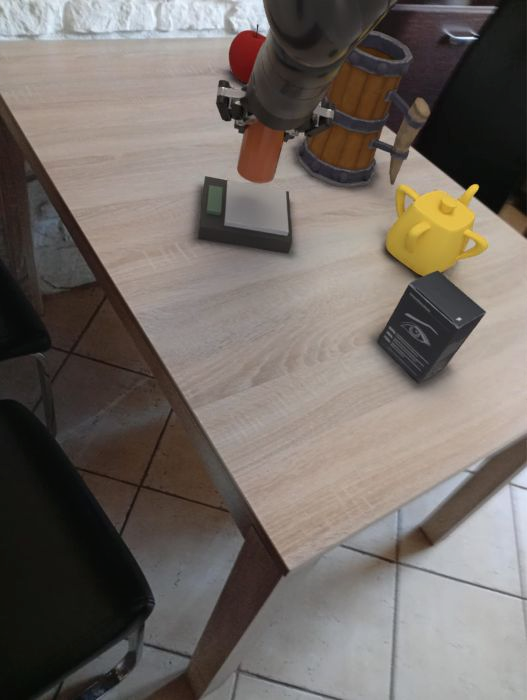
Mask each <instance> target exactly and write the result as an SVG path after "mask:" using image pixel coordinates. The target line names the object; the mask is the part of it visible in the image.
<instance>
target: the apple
mask: <svg viewBox="0 0 527 700" xmlns="http://www.w3.org/2000/svg"><path fill="white" fill-rule="evenodd" d="M259 26H260V24H258V23H257V24H256V31H255V30H252V29H246V30H245V29H244V30H242V31H240V32H238V33H237V34H236V36H235V37H234V38H233V39H232V41H231V43H230V46H229V49H228V64H229V68H230V71H231V73H232V75H233V76H234V77H235V78H237V79H238V81H241V82H242V83H244V84H245V85H246V84H248V82H249V79H250V76H251V73H252V70H253V67H254V64H255V61H256V58H257V55H258V52H259V50H260V48H261V46H262V44H263V43H264V41H265V40H266V37H267V36H265V35H263V34H261V33H259Z"/></svg>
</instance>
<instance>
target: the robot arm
mask: <svg viewBox="0 0 527 700" xmlns="http://www.w3.org/2000/svg"><path fill="white" fill-rule="evenodd" d="M399 1H400V0H262V4H263V5H262V6H263V9H264V14H265V18H266V20H267V23H268V26H269V28H268V31H267V35H266V36H265V37H266V40H265V41H264V43H263V44H262V46H261V48H260V50H259V52H258V55H257V58H256V61H255V64H254V67H253V70H252V73H251V76H250V79H249V82H248V84H246V83H245V84H244V85H242V86H241V88H239V89H238V88H235V86H233V85H231V84H230V83H231V82H229V81H228V80H226V79H220V80H218V82H217V92H216V99H215V101H216V102H215V105H216V108H217V110H218V113H219V116H220V118H221V120H222V121H224V122H232V120H234V123H233V128H234V129H235V130H237V133H238V134H242V135H243V133H244V131H245V129H246V126H247V124H249V125H252V126H254V125H256V124H258V123H260V122H261V123H262V124H263V125H265V126H267V127H268V128H271V129H274V130H278V131H285V132H286V134H285V138H284V142H283V143H288V142H289V140H294V139H295V138H296V137H298V136H300V134H301V133H302V134H303V136H304V137H308V138H311V137H314V136H316V135H318V134H320V133H322V132H324V131H325V130H327V129H329V128H331V127H332V125H333V118H334V111H335V104H334V103H331V102H327V103H325V104H323V105H320V104H321V101H322V100H323V99H324V98H325V96H326V94H327V92H328V90H329V88H330V85H331V83H332V81H333V80H334V79H335V77H336V76H337V74H338V73H339V72H340V70H341V68H342V67H343V65H344V63H345V61H346V60H347V58H348V57H349V56H350V54H351V53H352V52H353V50H354V49H355V48H356V47H357V46H358V45H359V44H360V43H361V41H362V40H363V39H364V38H365V37H366V36H367V35H368V34H369V33H370V32H371V31H372V30H373V31H374V29H375V28H376V27H377V26H378V25H379V24H380V23H381V22H382V21H383V19H384V18H385V17H387V15H388V14H389V13H390V12H391V11H392V9H393V8H394V7H396V5H397V3H398V2H399Z"/></svg>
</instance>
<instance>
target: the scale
mask: <svg viewBox="0 0 527 700" xmlns="http://www.w3.org/2000/svg"><path fill="white" fill-rule="evenodd" d="M203 180H204V181H203V187H202V198H201V208H200V218H199V225H198V226H199V227H198V235H197V239H198V240H204V241H209V242H215V243H223V244H229V245H235V246H241V247H247V248H253V249H260V250H265V251H271V252H272V251H273V252H277V253H284V254H289V253H290V250H291V247H292V244H293V235H292V234H293V232H292V217H291V204H290V191H288V190H287V189H282V188H277V187H271V186H266V185H261V184H257V183H250V182H246V181H245V182H243V181H239V180H234V179H223V178H219V177H212V176H207V175H205V176H204V179H203Z"/></svg>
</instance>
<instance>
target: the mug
mask: <svg viewBox="0 0 527 700" xmlns="http://www.w3.org/2000/svg"><path fill="white" fill-rule="evenodd" d="M413 58H414V56H413V54H412V52H411V50H410V48H409V46H407V45H406V44H404V43H402V42H401V41H400V40H398V39H397V38H395V37H392V36H390V35H388V34H385V33H383V32H380V31H377V30H374V29H373V30H372V31H371V32H370V33H369V34H368V35H367V36H366V37H365V38H364V39H363V40H362V41H361V43H360V44H359V45H358V46H357V47H356V48H355V49H354V50H353V52H352V53H351V54H350V56H349V57H348V58H347V60H346V61H345V63H344V65H343V67H342V68H341V70H340V72H339V73H338V74H337V76H336V77H335V79H334V80H333V81H332V83H331V85H330V88H329V90H328V92H327V94H326V96H325V98H324V99H323V100H322V101H321V102H320V103H319V104H320V105H323V104H325V103H327V102H331V103H334V104H335V111H334V118H333V125H332V127H331V128H329V129H327V130H325V131H324V132H322V133H320V134H318V135H316V136H314V137H311V138H308V137H306V136H304V138H303V141H302V143H301V144H300V145H299V146H298V147H297V148H296V155H297V156H296V157H297V161H298V164H299V165H301V167H302V168H303V169H304V170H305V171H306V172H307V173H308V174H309V175H310V176H311V177H314V178H315V179H317V180H320V181H322V182H324V183H326V184H329V185H331V186H338V187H342V188H343V187H344V188H350V189H352V188H356V187H361V186H366V185H368V184H369V182H370V181H371V180H372V179H373V177H374V176H375V174H376V172H375V169H374V167H375V166H376V164H377V160H376V158H375V156H376V152H377V149H379V150H381V151H384V152H386V153H388V154H389V156H390V161H389V169H388V170H389V171H388V175H389V182H390V185H391V186H394V185H395V182H396V180H397V178H398V174H399V173H400V170H401V167H402V165H403V163H404V161H406V160H407V159H408V157H409V154H410V148H411V146H412V143H413V142H414V140H415V139H416V137H417V136H418V134H419V132H420V130H422V129H423V127H424V126H425V124H426V123H427V121H428V119H429V117H430V115H431V109H430V106H429V104H428V103H427V102H426V100H425V99H424V98H422V97H416V99H415V100H414V102H413V103H412V105H411V106H409V103H407V102H406V101H405V100H404V99H403V98H402V97H401V96H400V95H399V94H398V92H397V91H398V88H399V85H400V83H401V80H402V78H403V76H406V74H408V72H409V68H410V66H411V65H412V63H413ZM392 103H393V105H395V106H396V108H398V109H399V110H400V111H401V113H402V114H403V120H402V122H401V124H400V127H399V128H398V131H397V133H396V135H395V139H394V142H393V145H392V144H390V143H387V142H385V141H381V140H380V138H381V136H382V132H383V129H384V127H385V126H386V123H387V122H388V119H389V116H390V113H389V110H390V107H391V105H392Z"/></svg>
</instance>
